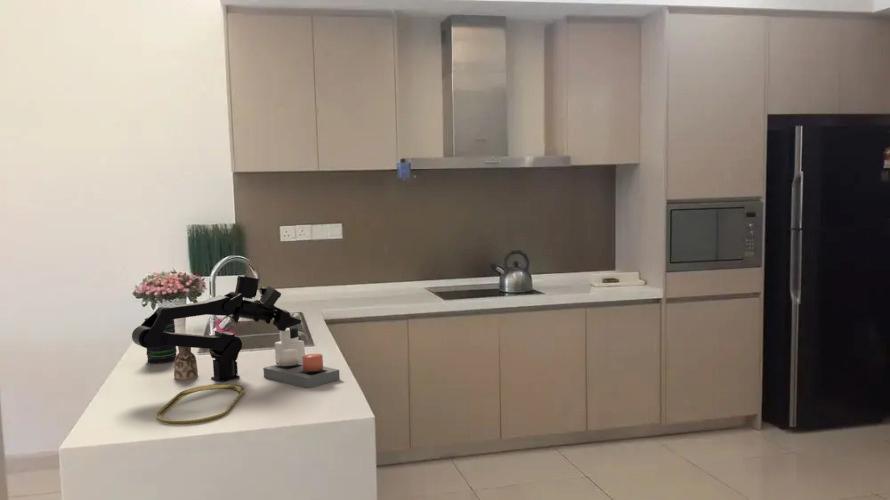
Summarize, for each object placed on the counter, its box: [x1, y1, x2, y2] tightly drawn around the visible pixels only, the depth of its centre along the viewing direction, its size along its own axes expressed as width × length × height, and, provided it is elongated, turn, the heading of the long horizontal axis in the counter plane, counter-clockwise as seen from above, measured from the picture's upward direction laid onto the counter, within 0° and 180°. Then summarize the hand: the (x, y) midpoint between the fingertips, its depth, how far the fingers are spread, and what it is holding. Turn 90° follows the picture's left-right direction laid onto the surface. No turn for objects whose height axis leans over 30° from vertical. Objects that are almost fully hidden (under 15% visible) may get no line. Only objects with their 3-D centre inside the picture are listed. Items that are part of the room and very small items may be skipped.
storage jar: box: [144, 317, 178, 365], centre depth 270 cm, size 10×10×15 cm
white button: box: [278, 349, 299, 366], centre depth 243 cm, size 6×6×4 cm
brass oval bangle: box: [155, 383, 245, 425], centre depth 215 cm, size 19×35×2 cm, turn 2°
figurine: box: [173, 346, 199, 380], centre depth 247 cm, size 7×7×12 cm
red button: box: [302, 353, 324, 371], centre depth 235 cm, size 6×6×4 cm
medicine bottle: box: [274, 326, 306, 364], centre depth 261 cm, size 7×7×12 cm
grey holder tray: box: [263, 361, 341, 389], centre depth 240 cm, size 12×22×3 cm, turn 48°
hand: (294, 317), depth 257 cm, fingers open, 9 cm apart
